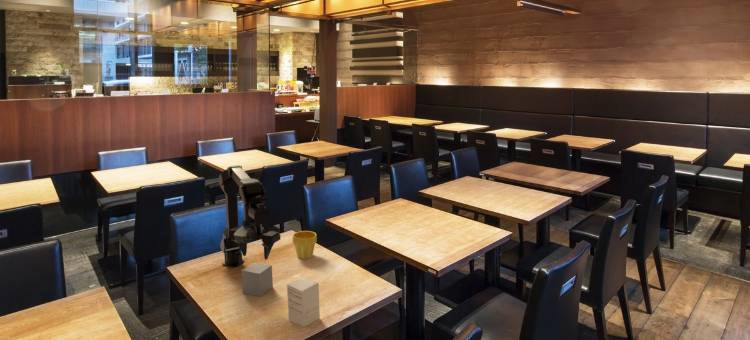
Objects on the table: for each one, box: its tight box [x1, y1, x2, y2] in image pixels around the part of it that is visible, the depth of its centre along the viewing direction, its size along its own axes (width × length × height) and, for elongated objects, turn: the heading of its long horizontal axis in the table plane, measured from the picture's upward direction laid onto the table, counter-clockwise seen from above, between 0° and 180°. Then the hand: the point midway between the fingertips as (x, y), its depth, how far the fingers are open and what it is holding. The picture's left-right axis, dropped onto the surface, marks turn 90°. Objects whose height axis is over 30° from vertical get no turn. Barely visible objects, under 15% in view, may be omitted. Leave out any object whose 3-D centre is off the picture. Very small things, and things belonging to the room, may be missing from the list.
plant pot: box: [292, 230, 318, 260], centre depth 200 cm, size 10×10×10 cm
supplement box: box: [286, 276, 321, 328], centre depth 148 cm, size 7×7×13 cm
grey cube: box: [240, 261, 274, 297], centre depth 168 cm, size 8×8×9 cm
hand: (255, 257), depth 166 cm, fingers open, 9 cm apart
